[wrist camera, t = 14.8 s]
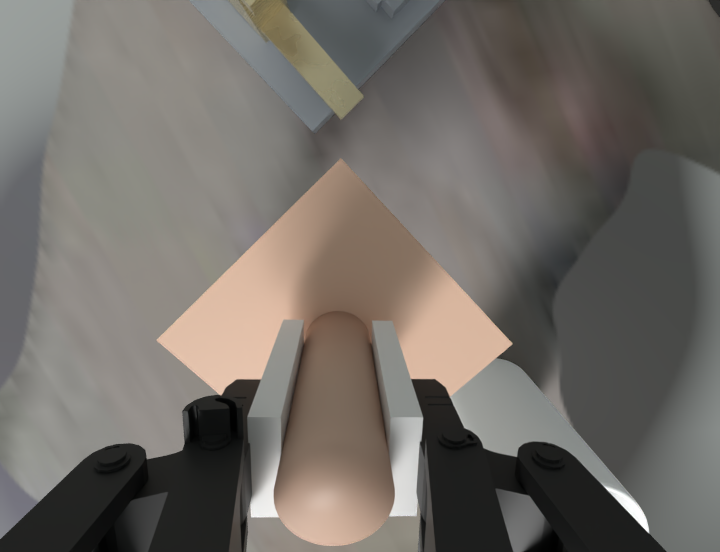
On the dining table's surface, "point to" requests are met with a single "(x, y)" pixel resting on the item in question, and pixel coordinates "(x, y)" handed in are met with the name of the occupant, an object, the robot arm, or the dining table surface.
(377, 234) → the cover
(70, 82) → the dining table surface
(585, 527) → the robot arm
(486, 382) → the cup
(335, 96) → the key
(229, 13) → the housing
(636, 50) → the dining table surface
